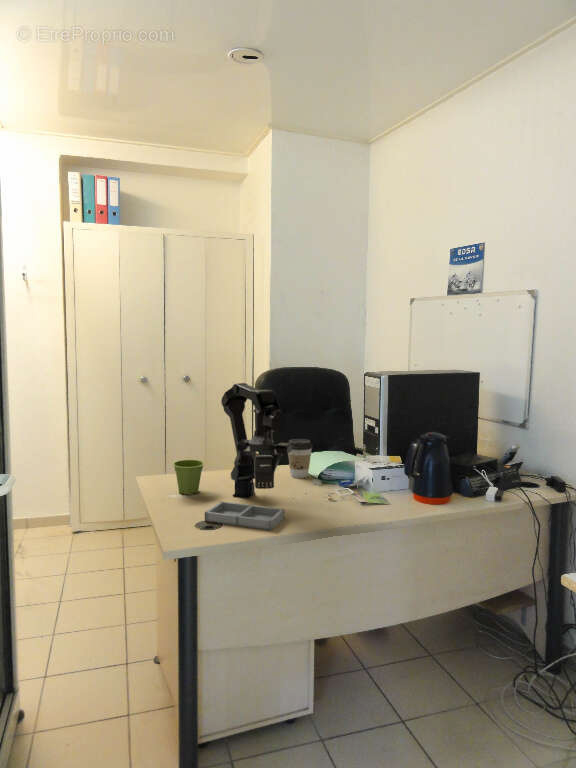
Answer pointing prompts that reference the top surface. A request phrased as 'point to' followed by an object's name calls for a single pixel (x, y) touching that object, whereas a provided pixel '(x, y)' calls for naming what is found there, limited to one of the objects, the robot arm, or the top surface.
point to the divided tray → (245, 515)
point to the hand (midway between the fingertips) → (263, 471)
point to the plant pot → (188, 475)
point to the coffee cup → (300, 457)
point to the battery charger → (264, 472)
